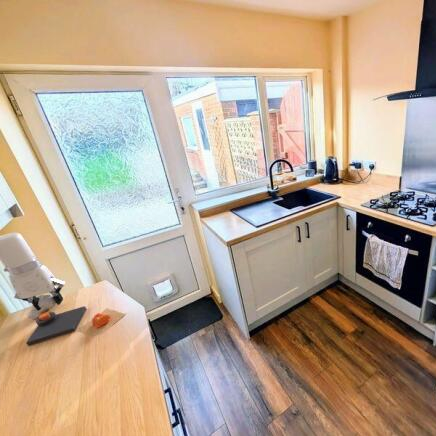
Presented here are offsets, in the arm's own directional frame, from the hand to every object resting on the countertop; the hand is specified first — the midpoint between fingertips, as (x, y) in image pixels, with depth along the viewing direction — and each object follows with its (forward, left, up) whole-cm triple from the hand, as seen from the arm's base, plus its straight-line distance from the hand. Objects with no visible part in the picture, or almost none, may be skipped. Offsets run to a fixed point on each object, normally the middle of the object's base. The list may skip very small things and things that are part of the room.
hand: (50, 304), depth 94 cm
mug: (-14, +16, -12) cm, 25 cm away
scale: (-3, +2, -12) cm, 13 cm away
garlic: (0, 0, -1) cm, 1 cm away
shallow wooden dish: (+14, -4, -12) cm, 19 cm away
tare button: (-8, +6, -9) cm, 14 cm away
